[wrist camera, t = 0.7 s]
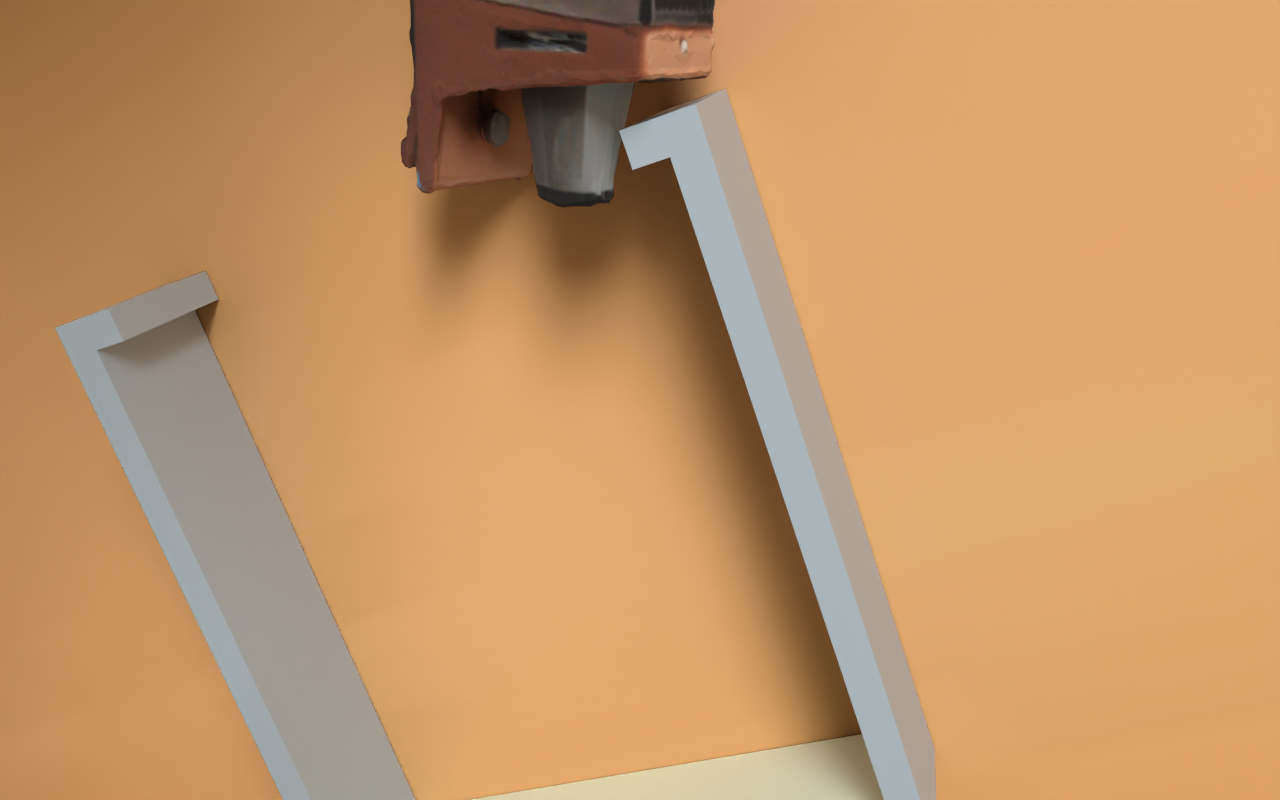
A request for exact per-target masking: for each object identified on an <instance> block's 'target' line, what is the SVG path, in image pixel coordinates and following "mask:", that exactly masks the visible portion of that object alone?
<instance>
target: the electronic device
mask: <svg viewBox="0 0 1280 800" xmlns="http://www.w3.org/2000/svg"><path fill="white" fill-rule="evenodd" d="M410 5H411V28H410V33H409V34H410V42H411V46H412V53H413V62H414V87H413V90H412V94H411V107H410V111H409V115H408V118H407V125H408V129H407V136H406V137H405V138H404V139H403V140H402V142H401V156H402V162H403V164H404V165H405V166H406V167H408V168H411V167H415V166H416V170H417V187H418V188H419V189H420V190H421V191H422V192H424V193H432V192H434V191H435V190H439V189H446V188H452V187H459V186H466V185H474V184H479V183H484V182H491V181H500V180H507V179H513V178H514V179H517V180H519V179H521V178H524V177H526V176H527V175H529V174H530V172H531V166H532V162H533V172H534V176H535V181H536V185H537V190H538V195H539V197H540V198H542V199H544V200H546V201H548V202H550V203H552V204H554V205H556V206H560V207H571V206H592V205H594V204H597V203H609V202H610V201H611V199H612V198H613V197H614V176H615V171H616V166H617V161H618V155H619V150H620V145H621V141H622V138H621V135H620V132H619V131H620V130H622V129H624V128H625V124H626V119H627V114H628V110H629V106H630V102H631V98H632V94H633V89H634V84H635V83H636V82H641V83H654V82H665V81H672V80H686V79H699V78H706V77H707V76H708V75H709V74H710V73H711V71H712V68H711V57H712V49H713V47H714V37H713V32H712V27H713V10H714V5H715V0H410Z"/></svg>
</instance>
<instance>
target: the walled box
mask: <svg viewBox="0 0 1280 800" xmlns="http://www.w3.org/2000/svg"><path fill="white" fill-rule="evenodd" d="M619 132H620V135H621V138H622V141H623V144H624V146H625V149H626V152H627V155H628V158H629V161H630V164H631V167H632V170H634V169H637V168H640V167H643V166H646V165H649V164H652V163H655V162H658V161H661V160H664V159H667V158H669V157H670V159H671V162H672V165H673V168H674V171H675V174H676V177H677V180H678V183H679V186H680V189H681V192H682V195H683V198H684V201H685V204H686V207H687V210H688V213H689V216H690V219H691V222H692V225H693V228H694V231H695V234H696V237H697V240H698V243H699V246H700V249H701V252H702V255H703V258H704V261H705V264H706V267H707V270H708V273H709V276H710V279H711V282H712V285H713V288H714V291H715V294H716V297H717V300H718V303H719V306H720V309H721V312H722V315H723V318H724V321H725V324H726V327H727V330H728V333H729V336H730V339H731V342H732V345H733V348H734V351H735V354H736V357H737V360H738V363H739V366H740V369H741V372H742V375H743V378H744V381H745V384H746V387H747V390H748V393H749V396H750V399H751V402H752V405H753V408H754V411H755V414H756V417H757V420H758V423H759V426H760V429H761V432H762V435H763V438H764V441H765V444H766V447H767V450H768V453H769V456H770V459H771V462H772V465H773V468H774V471H775V474H776V477H777V480H778V483H779V486H780V489H781V492H782V495H783V498H784V501H785V504H786V507H787V510H788V513H789V516H790V519H791V522H792V525H793V528H794V531H795V534H796V537H797V540H798V543H799V546H800V549H801V552H802V555H803V558H804V561H805V564H806V567H807V570H808V573H809V576H810V579H811V582H812V585H813V588H814V591H815V594H816V597H817V600H818V603H819V606H820V609H821V612H822V615H823V618H824V621H825V624H826V627H827V630H828V633H829V636H830V639H831V642H832V645H833V648H834V651H835V654H836V657H837V660H838V663H839V666H840V669H841V672H842V675H843V678H844V681H845V684H846V687H847V690H848V693H849V696H850V699H851V702H852V705H853V708H854V711H855V714H856V717H857V720H858V723H859V726H860V729H861V732H862V734H860V735H854V736H848V737H842V738H836V739H830V740H824V741H818V742H812V743H806V744H800V745H794V746H788V747H782V748H776V749H770V750H764V751H758V752H752V753H746V754H740V755H734V756H728V757H722V758H716V759H710V760H705V761H699V762H693V763H687V764H681V765H675V766H669V767H663V768H657V769H651V770H645V771H639V772H633V773H627V774H621V775H615V776H609V777H603V778H597V779H591V780H585V781H579V782H573V783H567V784H561V785H555V786H549V787H543V788H537V789H531V790H525V791H519V792H513V793H508V794H502V795H496V796H490V797H484V798H478V799H472V800H936V778H935V749H934V746H933V743H932V740H931V736H930V733H929V730H928V727H927V724H926V721H925V717H924V714H923V711H922V708H921V705H920V702H919V698H918V695H917V692H916V689H915V686H914V683H913V680H912V676H911V673H910V670H909V667H908V664H907V661H906V657H905V654H904V651H903V648H902V645H901V642H900V638H899V635H898V632H897V629H896V626H895V623H894V619H893V616H892V613H891V610H890V607H889V604H888V600H887V597H886V594H885V591H884V588H883V585H882V581H881V578H880V575H879V572H878V569H877V566H876V563H875V559H874V556H873V553H872V550H871V547H870V544H869V540H868V537H867V534H866V531H865V528H864V525H863V521H862V518H861V515H860V512H859V509H858V506H857V502H856V499H855V496H854V493H853V490H852V487H851V483H850V480H849V477H848V474H847V471H846V468H845V464H844V461H843V458H842V455H841V452H840V449H839V446H838V442H837V439H836V436H835V433H834V430H833V427H832V423H831V420H830V417H829V414H828V411H827V408H826V404H825V401H824V398H823V395H822V392H821V389H820V385H819V382H818V379H817V376H816V373H815V370H814V366H813V363H812V360H811V357H810V354H809V351H808V347H807V344H806V341H805V338H804V335H803V332H802V328H801V325H800V322H799V319H798V316H797V313H796V310H795V306H794V303H793V300H792V297H791V294H790V291H789V287H788V284H787V281H786V278H785V275H784V272H783V268H782V265H781V262H780V259H779V256H778V253H777V249H776V246H775V243H774V240H773V237H772V234H771V230H770V227H769V224H768V221H767V218H766V215H765V211H764V208H763V205H762V202H761V199H760V196H759V193H758V189H757V186H756V183H755V180H754V177H753V174H752V170H751V167H750V164H749V161H748V158H747V155H746V151H745V148H744V145H743V142H742V139H741V136H740V132H739V129H738V126H737V123H736V120H735V117H734V113H733V110H732V107H731V104H730V101H729V98H728V94H727V91H726V89H723V90H720V91H717V92H715V93H712V94H709V95H706V96H703V97H700V98H698V99H695V100H692V101H689V102H686V103H683V104H680V105H678V106H675V107H672V108H669V109H666V110H663V111H660V112H658V113H656V114H654V115H652V116H650V117H647V118H645V119H643V120H641V121H639V122H637V123H635V124H633V125H630V126H628V127H626V128H624V129H622V130H620V131H619ZM216 300H218V297H217V295H216V293H215V290H214V288H213V286H212V284H211V281H210V279H209V277H208V275H207V272H206V271H204V272H201V273H198V274H195V275H192V276H190V277H187V278H184V279H181V280H178V281H175V282H172V283H170V284H167V285H164V286H161V287H158V288H155V289H153V290H150V291H148V292H145V293H143V294H140V295H138V296H135V297H132V298H130V299H127V300H125V301H122V302H120V303H117V304H114V305H112V306H109V307H107V308H104V309H102V310H99V311H97V312H94V313H91V314H89V315H86V316H84V317H81V318H79V319H76V320H73V321H71V322H68V323H66V324H63V325H61V326H58V327H55V329H56V331H57V333H58V335H59V337H60V339H61V342H62V344H63V346H64V348H65V350H66V352H67V354H68V356H69V358H70V360H71V362H72V364H73V366H74V368H75V370H76V373H77V375H78V377H79V379H80V381H81V383H82V385H83V387H84V389H85V391H86V393H87V395H88V397H89V399H90V402H91V404H92V406H93V408H94V410H95V412H96V414H97V416H98V418H99V420H100V422H101V424H102V426H103V428H104V430H105V433H106V435H107V437H108V439H109V441H110V443H111V445H112V447H113V449H114V451H115V453H116V455H117V457H118V459H119V461H120V464H121V466H122V468H123V470H124V472H125V474H126V476H127V478H128V480H129V482H130V484H131V486H132V488H133V490H134V492H135V495H136V497H137V499H138V501H139V503H140V505H141V507H142V509H143V511H144V513H145V515H146V517H147V519H148V521H149V524H150V526H151V528H152V530H153V532H154V534H155V536H156V538H157V540H158V542H159V544H160V546H161V548H162V550H163V552H164V555H165V557H166V559H167V561H168V563H169V565H170V567H171V569H172V571H173V573H174V575H175V577H176V579H177V581H178V583H179V586H180V588H181V590H182V592H183V594H184V596H185V598H186V600H187V602H188V604H189V606H190V608H191V610H192V612H193V614H194V617H195V619H196V621H197V623H198V625H199V627H200V629H201V631H202V633H203V635H204V637H205V639H206V641H207V643H208V645H209V648H210V650H211V652H212V654H213V656H214V658H215V660H216V662H217V664H218V666H219V668H220V670H221V672H222V674H223V677H224V679H225V681H226V683H227V685H228V687H229V689H230V691H231V693H232V695H233V697H234V699H235V701H236V703H237V705H238V708H239V710H240V712H241V714H242V716H243V718H244V720H245V722H246V724H247V726H248V728H249V730H250V732H251V734H252V736H253V739H254V741H255V743H256V745H257V747H258V749H259V751H260V753H261V755H262V757H263V759H264V761H265V763H266V765H267V767H268V770H269V772H270V774H271V776H272V778H273V780H274V782H275V784H276V786H277V788H278V790H279V792H280V794H281V796H282V799H283V800H415V797H414V795H413V793H412V791H411V789H410V786H409V784H408V782H407V780H406V777H405V775H404V773H403V771H402V769H401V766H400V764H399V762H398V760H397V757H396V755H395V753H394V751H393V749H392V746H391V744H390V742H389V740H388V737H387V735H386V733H385V731H384V729H383V726H382V724H381V722H380V720H379V718H378V715H377V713H376V711H375V709H374V706H373V704H372V702H371V700H370V698H369V695H368V693H367V691H366V689H365V686H364V684H363V682H362V680H361V678H360V675H359V673H358V671H357V669H356V666H355V664H354V662H353V660H352V658H351V655H350V653H349V651H348V649H347V646H346V644H345V642H344V640H343V638H342V635H341V633H340V631H339V629H338V626H337V624H336V622H335V620H334V618H333V615H332V613H331V611H330V609H329V606H328V604H327V602H326V600H325V598H324V595H323V593H322V591H321V589H320V587H319V584H318V582H317V580H316V578H315V575H314V573H313V571H312V569H311V567H310V564H309V562H308V560H307V558H306V555H305V553H304V551H303V549H302V547H301V544H300V542H299V540H298V538H297V535H296V533H295V531H294V529H293V527H292V524H291V522H290V520H289V518H288V515H287V513H286V511H285V509H284V507H283V504H282V502H281V500H280V498H279V495H278V493H277V491H276V489H275V487H274V484H273V482H272V480H271V478H270V476H269V473H268V471H267V469H266V467H265V464H264V462H263V460H262V458H261V456H260V453H259V451H258V449H257V447H256V444H255V442H254V440H253V438H252V436H251V433H250V431H249V429H248V427H247V424H246V422H245V420H244V418H243V416H242V413H241V411H240V409H239V407H238V404H237V402H236V400H235V398H234V396H233V393H232V391H231V389H230V387H229V384H228V382H227V380H226V378H225V376H224V373H223V371H222V369H221V367H220V364H219V362H218V360H217V358H216V356H215V353H214V351H213V349H212V347H211V345H210V342H209V340H208V338H207V336H206V333H205V331H204V329H203V327H202V325H201V322H200V320H199V318H198V316H197V313H196V311H195V310H196V309H198V308H200V307H202V306H205V305H207V304H209V303H212V302H214V301H216Z"/></svg>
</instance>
